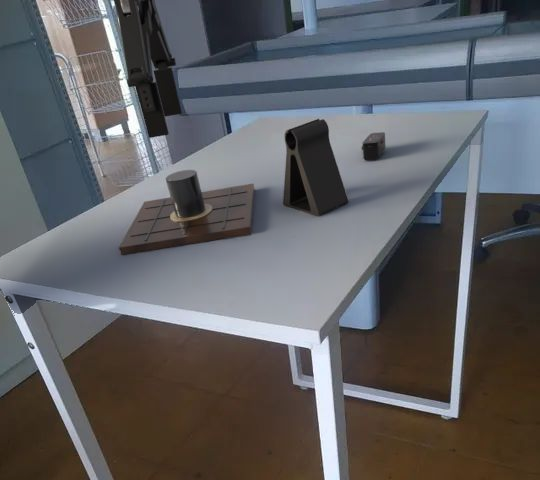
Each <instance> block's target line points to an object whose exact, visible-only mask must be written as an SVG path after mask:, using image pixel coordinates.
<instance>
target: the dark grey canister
mask: <svg viewBox="0 0 540 480" xmlns="http://www.w3.org/2000/svg"><path fill="white" fill-rule="evenodd" d="M165 183H166V186H167V190H168V193H169V197H171V201H172V204H173V208H174V212H175V215H176V217H179V218H188V217H193V216H196V215H199V214H201V213H203V212H204V211H205V209H206V208H205V204H204V200H203V196H202V192H203V191H202V188H201V183H200V180H199V175H198V171H197V170H194V169H185V170H183V169H182V170H179V171H176V172H173V173H170V174H168V175H167V176H165Z"/></svg>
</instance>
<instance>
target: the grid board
mask: <svg viewBox="0 0 540 480" xmlns="http://www.w3.org/2000/svg"><path fill="white" fill-rule="evenodd" d="M201 192H202V196H203V200H204V204H205V208H206V209H205V211H204V212H203V213H201V214H199V215H196V216H193V217H188V218H179V217H176V215H175V212H174V208H173V204H172V201H171V197H170V196H169V197H164V198H158V199H152V200H146V201H144V202H143V203H142V205H141V207H140V209H139V210H138V212H137V214H136V216H135V217H134V219H133V221H132V223H131V225H130V227H129V228H128V230H127V232H126V234H125V236H124V238H123V239H122V241H121V243H120V245H119V246H118V249H119V252H120V255H129V254H135V253H136V254H137V253H141V252H147V251H155V250H160V249H167V248H172V247H173V248H174V247H178V246H179V247H180V246H186V245H191V244H197V243H205V242H211V241H217V240H225V239H230V238H237V237H242V236H243V237H244V236H249V235H250V236H251V235H252V231H253V230H252V229H253V216H254V203H255V192H256V190H255V184H254V183H247V184H241V185H236V186H230V187H229V186H228V187H223V188H219V189H218V188H217V189H211V190H206V191H201Z"/></svg>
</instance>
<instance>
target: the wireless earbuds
mask: <svg viewBox="0 0 540 480" xmlns="http://www.w3.org/2000/svg"><path fill="white" fill-rule="evenodd" d="M360 147H361V151H362V157H363V160H364V161H368V162H369V161H370V162H371V161H377V160H378V159H379V158H380V157H381V156H382V155H383V153H384V152H385V151H386V132H384V131H383V132H381V131H379V132H372V133H370V134H368V135H367V137H366V138H365V139H364V140H363V141H362V145H361V146H360Z"/></svg>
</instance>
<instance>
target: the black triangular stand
mask: <svg viewBox="0 0 540 480" xmlns="http://www.w3.org/2000/svg"><path fill="white" fill-rule="evenodd" d="M329 129H330V128H329V125H328V123H327V121H326V120H325V119H324V118H322V119H320V118H317V119H314V120H311V121H309V122H306V123H303V124H300V125H297V126H295V127H292V128H289V129H287V130H285V132H284V143H285V148H286V149H285V150H286V155H285V169H284V184H283V196H282V198H283V199H282V204H283V206H284V207H287V208H290V209H293V210H296V211H298V212H299V211H300V212H303V213H306V214H308V215H313V216H315V217H320V216H322V215H324V214H326V213H328V212H330V211H333V210H335V209H338V208H340V207H342V206H344V205H346V204H348V203H349V198H348V195H347V192H346V189H345V185H344V183H343V179H342V176H341V173H340V169H339V166H338V163H337V161H336V157H335V154H334V151H333V148H332V144H331V141H330V130H329Z"/></svg>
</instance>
